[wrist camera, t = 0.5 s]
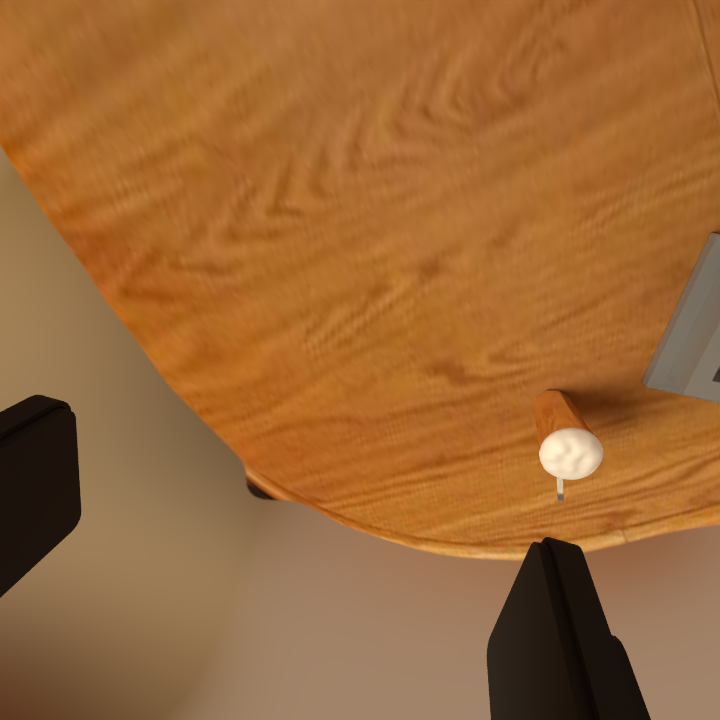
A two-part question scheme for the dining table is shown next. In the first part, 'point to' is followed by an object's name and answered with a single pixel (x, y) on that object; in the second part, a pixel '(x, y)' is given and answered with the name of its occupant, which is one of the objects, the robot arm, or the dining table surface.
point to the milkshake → (564, 439)
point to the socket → (693, 335)
